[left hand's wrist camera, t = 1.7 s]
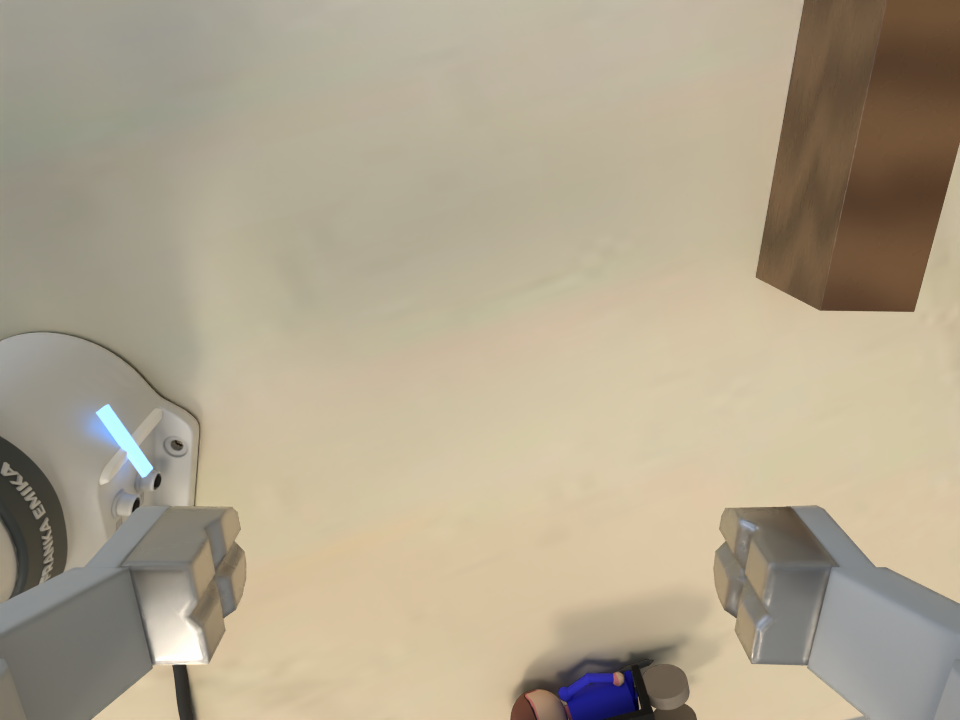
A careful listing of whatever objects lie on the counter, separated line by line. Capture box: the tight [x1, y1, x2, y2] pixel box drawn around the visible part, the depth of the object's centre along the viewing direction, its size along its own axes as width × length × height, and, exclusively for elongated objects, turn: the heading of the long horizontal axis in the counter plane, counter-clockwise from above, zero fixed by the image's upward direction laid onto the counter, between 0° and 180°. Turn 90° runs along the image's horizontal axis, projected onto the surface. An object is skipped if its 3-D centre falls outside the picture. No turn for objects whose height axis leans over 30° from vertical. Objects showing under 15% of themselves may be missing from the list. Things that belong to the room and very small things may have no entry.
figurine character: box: [510, 659, 697, 720], centre depth 52 cm, size 7×8×15 cm
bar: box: [756, 0, 960, 312], centre depth 35 cm, size 23×6×8 cm, turn 179°
